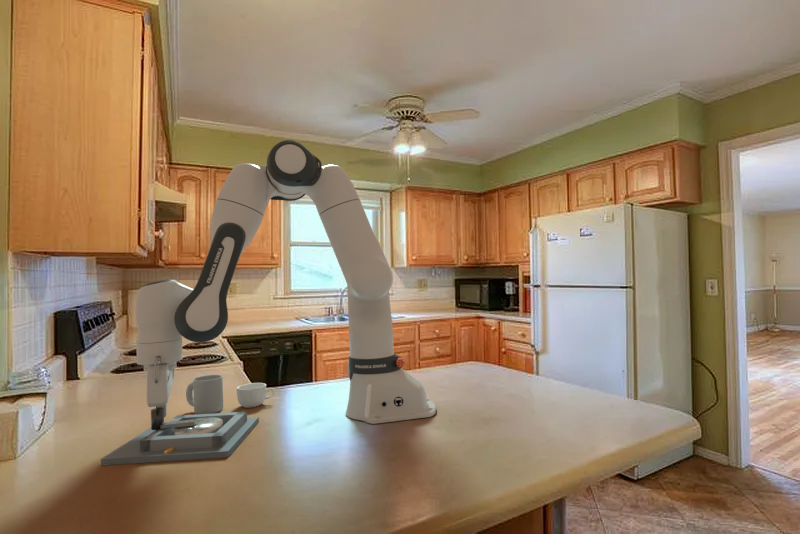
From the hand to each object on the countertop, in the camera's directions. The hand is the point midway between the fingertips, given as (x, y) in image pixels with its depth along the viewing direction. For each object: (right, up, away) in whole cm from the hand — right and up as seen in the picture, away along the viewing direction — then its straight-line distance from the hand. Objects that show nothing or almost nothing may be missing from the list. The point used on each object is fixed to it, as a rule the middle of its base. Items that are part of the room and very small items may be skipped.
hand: (161, 417), depth 95 cm
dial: (+6, -3, -1) cm, 7 cm away
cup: (-1, -6, +22) cm, 23 cm away
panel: (+6, -5, -1) cm, 8 cm away
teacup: (+12, -6, +25) cm, 29 cm away
